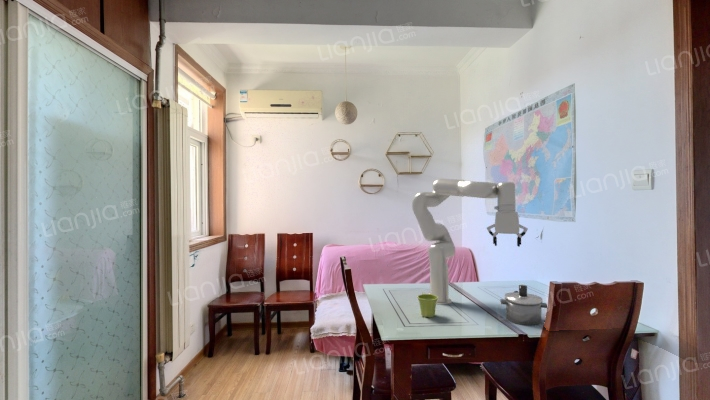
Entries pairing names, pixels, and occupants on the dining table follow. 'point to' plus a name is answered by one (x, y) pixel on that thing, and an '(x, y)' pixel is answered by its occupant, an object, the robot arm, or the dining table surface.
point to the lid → (523, 297)
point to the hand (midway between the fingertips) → (506, 245)
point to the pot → (523, 313)
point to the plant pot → (427, 304)
